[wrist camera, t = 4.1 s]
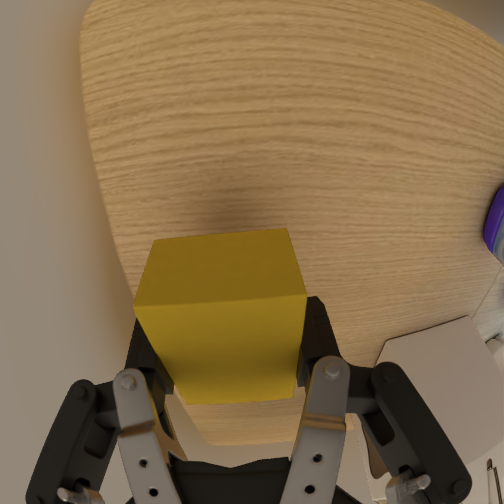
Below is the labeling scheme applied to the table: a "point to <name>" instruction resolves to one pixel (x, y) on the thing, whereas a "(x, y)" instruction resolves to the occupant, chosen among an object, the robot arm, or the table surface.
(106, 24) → the table surface
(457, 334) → the gable box
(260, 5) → the table surface
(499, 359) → the water bottle
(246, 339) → the block
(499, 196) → the bottle
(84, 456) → the robot arm
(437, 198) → the table surface
